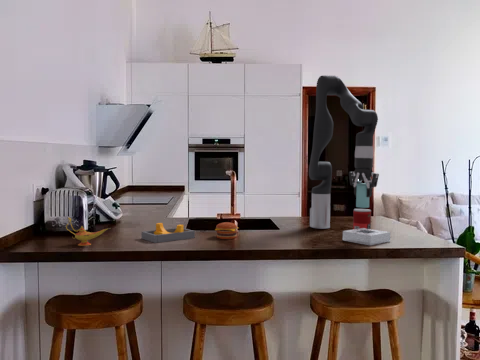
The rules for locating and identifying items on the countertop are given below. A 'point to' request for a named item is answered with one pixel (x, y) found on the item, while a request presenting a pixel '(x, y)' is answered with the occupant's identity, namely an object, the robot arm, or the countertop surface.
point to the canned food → (362, 218)
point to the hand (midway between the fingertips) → (362, 196)
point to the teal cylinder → (362, 196)
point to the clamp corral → (168, 235)
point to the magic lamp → (85, 234)
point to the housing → (366, 236)
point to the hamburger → (226, 230)
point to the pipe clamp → (161, 230)
